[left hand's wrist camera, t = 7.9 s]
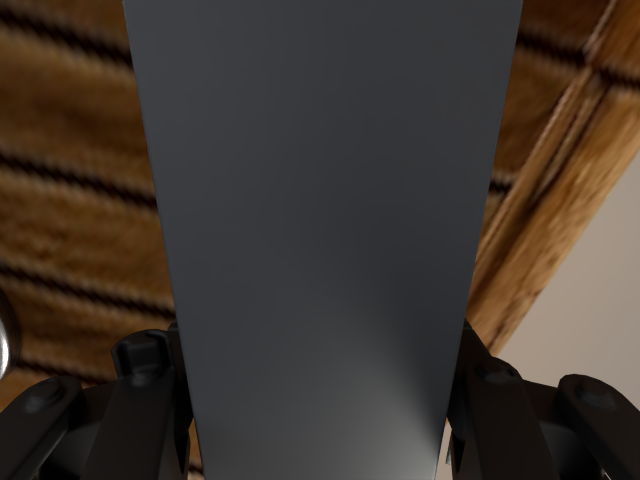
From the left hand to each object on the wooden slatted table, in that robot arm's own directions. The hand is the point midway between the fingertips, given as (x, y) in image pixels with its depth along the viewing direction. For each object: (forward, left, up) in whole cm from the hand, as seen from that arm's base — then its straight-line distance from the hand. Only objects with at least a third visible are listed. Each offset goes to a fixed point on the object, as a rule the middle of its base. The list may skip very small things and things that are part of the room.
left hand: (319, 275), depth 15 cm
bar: (-2, +9, -1) cm, 9 cm away
